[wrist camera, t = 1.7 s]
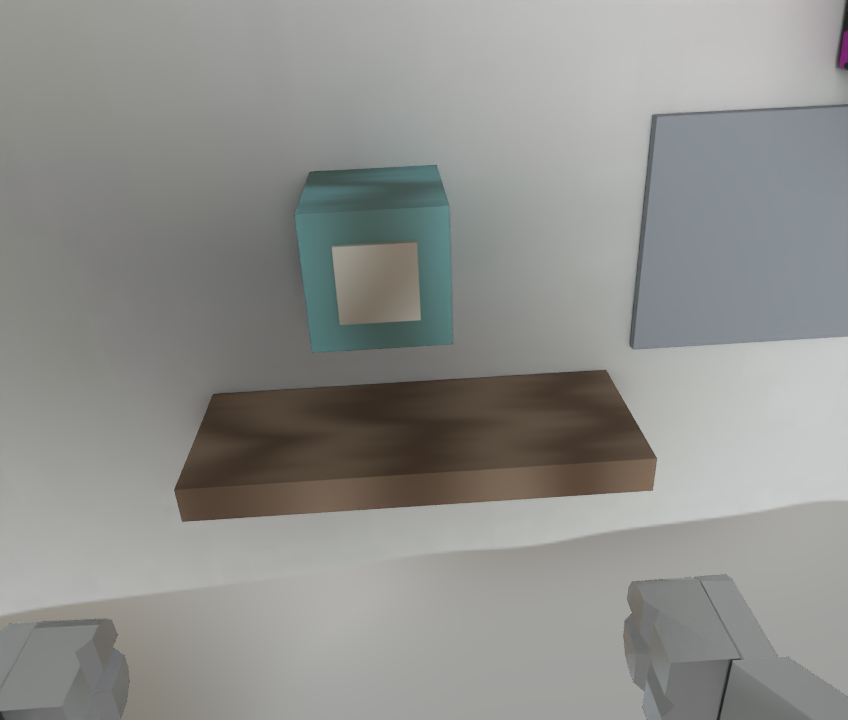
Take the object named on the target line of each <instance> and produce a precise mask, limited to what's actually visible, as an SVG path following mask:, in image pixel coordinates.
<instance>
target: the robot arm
mask: <svg viewBox="0 0 848 720" xmlns="http://www.w3.org/2000/svg"><path fill="white" fill-rule="evenodd" d="M627 601H628V603H629V606H630V609H631V611H632V614H631V615H630V616H629V617H628V618H627V619H626V620H625V622H624V635H623V637H624V648H625V656H626V660H627V664H628V668H629V671H630V674H631V677H632V680H633V682H634V683H635V684H636V685H637V686H639V687H640V688H641V689H642V690H644V691H645V693H644V699H643V707H642V708H643V711H644V713H645V716H646V719H647V720H848V696H846V695H845V694H844V693H842V692H840V691H839V690H838V689H836V688H835V687H833V686H832V685H830V684H828V683H827V682H826V681H824V680H822V679H821V678H820V677H818V676H817V675H815V674H814V673H812V672H811V671H809V670H808V669H806V668H805V667H803V666H801V665H800V664H799V663H797V662H796V661H794V660H793V659H791V658H790V657H778V655H777V653H776V652H775V650H774V648H773V647H772V645H771V643H770V642H769V640H768V638H767V637H766V635H765V633H764V632H763V630H762V628H761V627H760V625H759V623H758V622H757V620H756V618H755V617H754V615H753V613H752V611H751V610H750V608H749V606H748V605H747V603H746V601H745V600H744V598H743V596H742V595H741V593H740V591H739V590H738V588H737V586H736V585H735V583H734V581H733V580H732V578H730V577H729V576H728V575H726V574H724V575H711V576H698V577H694V578H693V577H684V578H672V579H659V580H646V581H634V582H631V584H630V586H629V589H628V596H627ZM117 636H118V634H117V632H116V629H115V627H114V624H113V622H112V620H110V619H82V620H59V621H42V622H30V623H29V622H28V623H10V624H8V625H7V626H6V627H4V628H3V629H2V630H1V631H0V720H121V718H122V715H123V712H124V709H125V706H126V703H127V698H128V689H129V670H128V665H127V662H126V658H125V655H123V654H122V653H120V652H119V651H118V650H116V649H115V648H113V646H114V643H115V641H116V638H117Z"/></svg>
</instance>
